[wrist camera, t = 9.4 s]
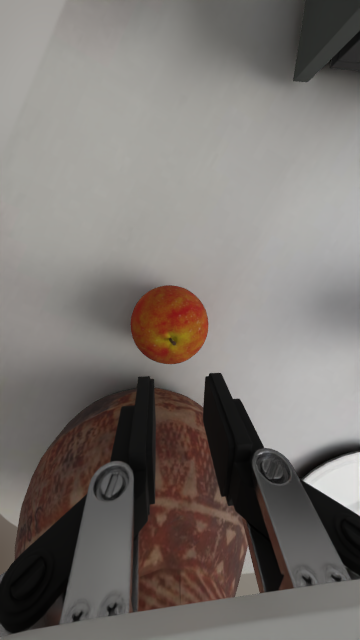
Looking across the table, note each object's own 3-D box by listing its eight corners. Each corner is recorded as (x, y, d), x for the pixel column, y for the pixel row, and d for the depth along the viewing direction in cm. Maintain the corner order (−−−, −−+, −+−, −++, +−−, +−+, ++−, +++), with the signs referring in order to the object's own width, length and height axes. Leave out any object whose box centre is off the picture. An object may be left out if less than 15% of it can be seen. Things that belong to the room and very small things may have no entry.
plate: (335, 426, 33) (345, 438, 31) (421, 457, 38) (434, 468, 36) (259, 508, 39) (264, 520, 37) (342, 524, 44) (350, 536, 42)
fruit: (184, 347, 25) (196, 396, 17) (125, 328, 23) (111, 373, 16) (211, 293, 23) (236, 322, 15) (148, 267, 21) (143, 286, 14)
